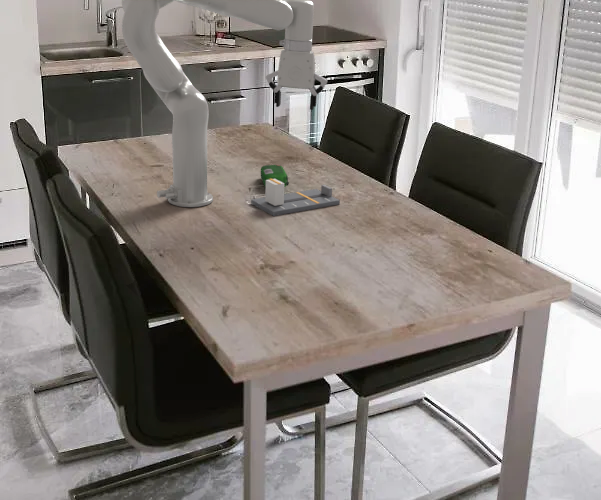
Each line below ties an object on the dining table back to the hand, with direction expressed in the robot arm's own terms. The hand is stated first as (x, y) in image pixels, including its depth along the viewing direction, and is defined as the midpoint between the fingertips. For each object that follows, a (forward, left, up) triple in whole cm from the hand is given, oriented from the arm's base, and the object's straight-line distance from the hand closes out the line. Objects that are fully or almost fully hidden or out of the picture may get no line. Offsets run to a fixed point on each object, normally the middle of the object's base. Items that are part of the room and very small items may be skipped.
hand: (295, 107), depth 254 cm
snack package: (-1, +10, -26) cm, 28 cm away
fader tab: (-11, -9, -24) cm, 28 cm away
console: (-4, -9, -26) cm, 27 cm away
